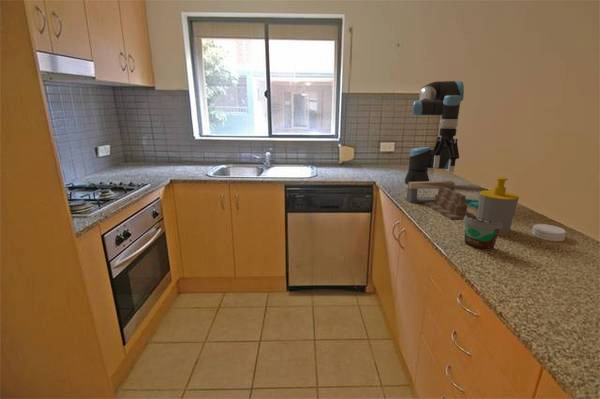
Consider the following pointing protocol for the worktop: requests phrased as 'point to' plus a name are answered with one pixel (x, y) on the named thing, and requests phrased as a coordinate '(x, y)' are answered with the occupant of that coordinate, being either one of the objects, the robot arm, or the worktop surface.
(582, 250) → the worktop surface
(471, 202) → the alien figure
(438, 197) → the fulcrum
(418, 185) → the birch bar
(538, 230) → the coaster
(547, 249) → the worktop surface
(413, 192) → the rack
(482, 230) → the food container
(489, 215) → the soap bottle
